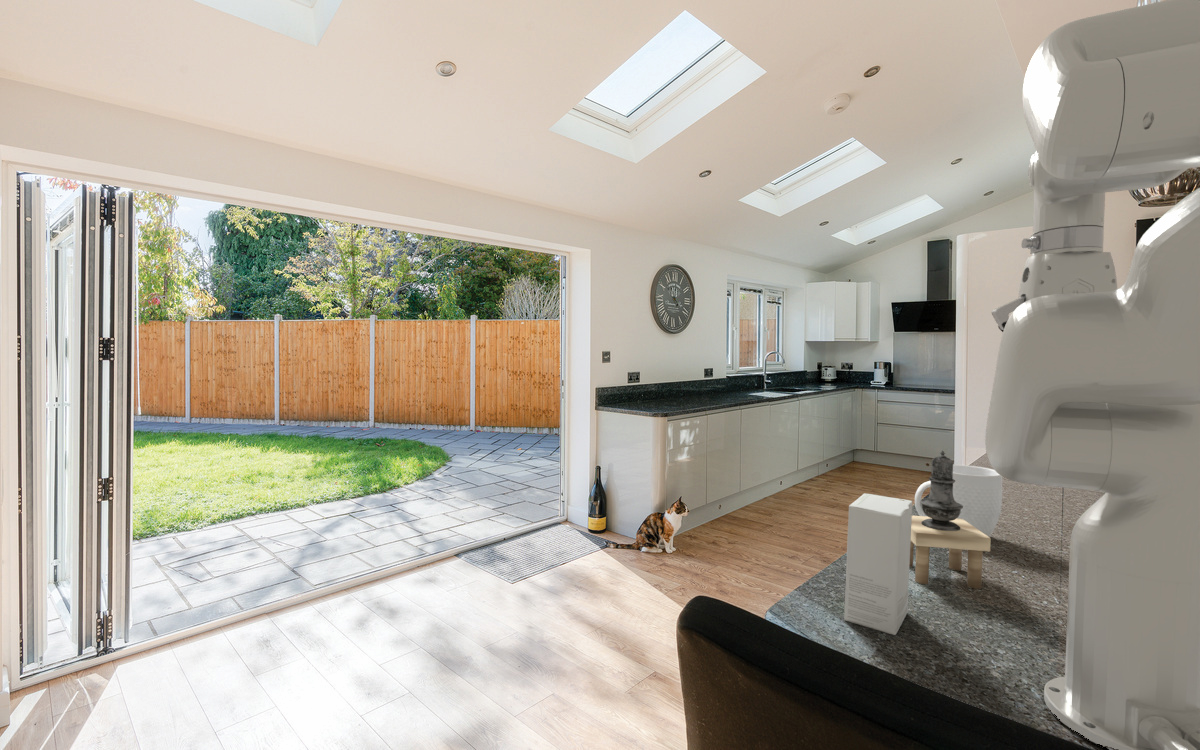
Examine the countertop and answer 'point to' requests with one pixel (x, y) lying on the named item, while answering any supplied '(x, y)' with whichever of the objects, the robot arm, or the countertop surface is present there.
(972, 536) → the stool
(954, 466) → the mug
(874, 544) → the skincare box
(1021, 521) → the countertop surface
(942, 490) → the salt shaker
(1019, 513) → the countertop surface
